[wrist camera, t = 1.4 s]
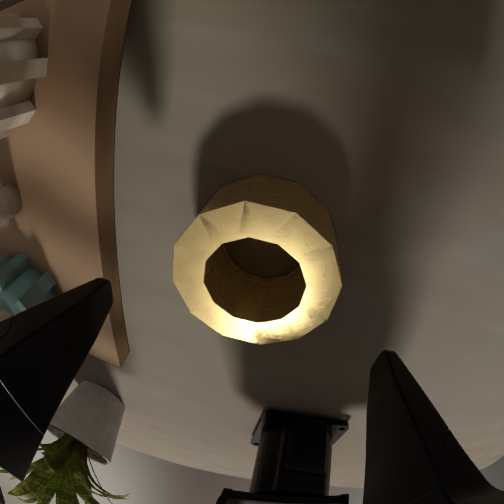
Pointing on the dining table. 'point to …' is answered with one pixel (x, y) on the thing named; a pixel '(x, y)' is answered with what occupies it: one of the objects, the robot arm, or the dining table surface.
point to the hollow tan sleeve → (253, 287)
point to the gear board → (60, 155)
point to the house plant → (75, 448)
